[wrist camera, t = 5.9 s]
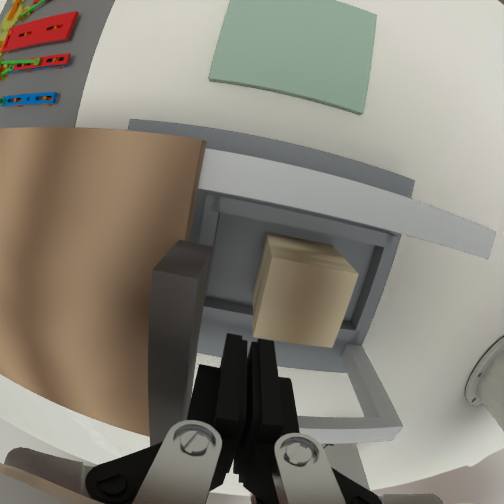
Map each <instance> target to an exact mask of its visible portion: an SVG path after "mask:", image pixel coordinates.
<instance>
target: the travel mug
mask: <svg viewBox="0 0 504 504" xmlns="http://www.w3.org/2000/svg"><path fill="white" fill-rule="evenodd" d="M321 446H322V447H323V449H324V451H325V454H326V456H327V459H328V461H329V464H330V466H331V467H332V468H334V469H335V470H337V471H338V472H340V473H341V474H343V475H345V476H346V477H348V478H349V479H351V480H353V481H354V482H356V483H358V484H359V485H361V486H363V487H364V488H366V489H368V490H370V488H369V485H368V482H367V478H366V475H365V472H364V468H363V465H362V462H361V459H360V456H359V452H358V449H357V446H356V443H339V444H321Z"/></svg>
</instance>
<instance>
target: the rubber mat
mask: <svg viewBox="0 0 504 504" xmlns="http://www.w3.org/2000/svg"><path fill="white" fill-rule="evenodd" d="M376 17H377V15H376V14H373V13H371V12H368V11H365V10H362V9H360V8H357V7H354V6H351V5H348V4H345V3H342V2H339V1H335V0H230V3H229V6H228V10H227V13H226V16H225V19H224V23H223V26H222V30H221V33H220V36H219V40H218V44H217V47H216V51H215V55H214V58H213V62H212V66H211V70H210V74H209V80H210V81H214V82H222V83H228V84H235V85H241V86H247V87H253V88H258V89H263V90H268V91H273V92H278V93H283V94H287V95H291V96H296V97H300V98H304V99H308V100H311V101H315V102H319V103H323V104H326V105H330V106H333V107H336V108H340V109H343V110H346V111H349V112H353V113H356V114H359V115H361V114H363V113H364V107H365V101H366V95H367V89H368V83H369V76H370V69H371V62H372V54H373V46H374V37H375V28H376Z"/></svg>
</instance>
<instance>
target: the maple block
mask: <svg viewBox="0 0 504 504" xmlns="http://www.w3.org/2000/svg"><path fill="white" fill-rule="evenodd" d="M358 275H359V274H358V273H357V272H356V270H355V269H354V268H353V267H352V266H351V265H350V264H349V263H348V262H347V261H346V259H345V258H344V257H343V256H342V255H341V254H340V253H339V252H338V251H337V250H336V249H335V248H334V246H333V245H329V244H324V243H319V242H315V241H310V240H305V239H300V238H296V237H291V236H286V235H281V234H276V233H271V232H267V233H266V238H265V242H264V247H263V251H262V256H261V260H260V265H259V269H258V274H257V278H256V283H255V287H254V291H253V337H256V338H262V339H269V340H275V341H282V342H289V343H296V344H304V345H312V346H320V347H329V348H332V347H333V345H334V342H335V340H336V337H337V335H338V332H339V329H340V327H341V324H342V321H343V319H344V316H345V313H346V310H347V307H348V305H349V302H350V299H351V296H352V293H353V290H354V287H355V284H356V281H357V278H358Z"/></svg>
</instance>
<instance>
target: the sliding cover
mask: <svg viewBox="0 0 504 504" xmlns="http://www.w3.org/2000/svg"><path fill="white" fill-rule="evenodd" d="M206 143H207V141H205V140H202V139H196V138H189V137H182V136H174V135H166V134H158V133H148V132H138V131H127V130H114V129H97V128H73V127H23V128H0V374H1V375H3V376H5V377H6V378H8V379H10V380H12V381H13V382H15V383H17V384H19V385H21V386H22V387H24V388H26V389H28V390H30V391H32V392H34V393H36V394H38V395H40V396H42V397H44V398H46V399H48V400H50V401H52V402H55V403H57V404H59V405H61V406H64V407H66V408H68V409H70V410H73V411H75V412H78V413H80V414H83V415H85V416H88V417H90V418H93V419H96V420H98V421H101V422H104V423H107V424H110V425H113V426H116V427H119V428H122V429H125V430H128V431H132V432H135V433H138V434H142V435H145V436H149V437H150V447H151V446H153V445H156V444H158V443H161V442H163V441H164V439H165V437H166V435H167V433H168V431H169V430H170V429H171V427H172V426H173V425H175V424H177V423H178V422H182V421H185V420H187V415H188V411H189V406H190V402H191V395H192V386H193V378H194V370H195V362H196V355H197V347H198V340H199V333H200V326H201V319H202V312H203V305H204V299H205V292H206V286H207V279H208V273H209V267H210V261H211V255H212V249H213V246H209V245H203V244H198V243H193V242H189V241H190V234H191V228H192V221H193V215H194V209H195V203H196V197H197V191H198V185H199V180H200V174H201V169H202V164H203V158H204V153H205V148H206Z"/></svg>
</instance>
